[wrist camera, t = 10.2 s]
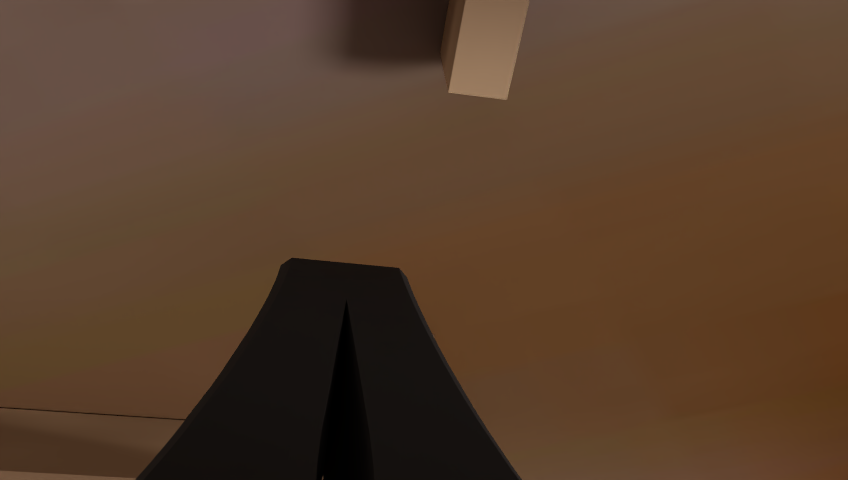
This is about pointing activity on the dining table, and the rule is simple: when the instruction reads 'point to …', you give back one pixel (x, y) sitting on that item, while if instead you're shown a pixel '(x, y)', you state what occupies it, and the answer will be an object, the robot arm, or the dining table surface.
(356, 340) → the robot arm
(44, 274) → the dining table surface
